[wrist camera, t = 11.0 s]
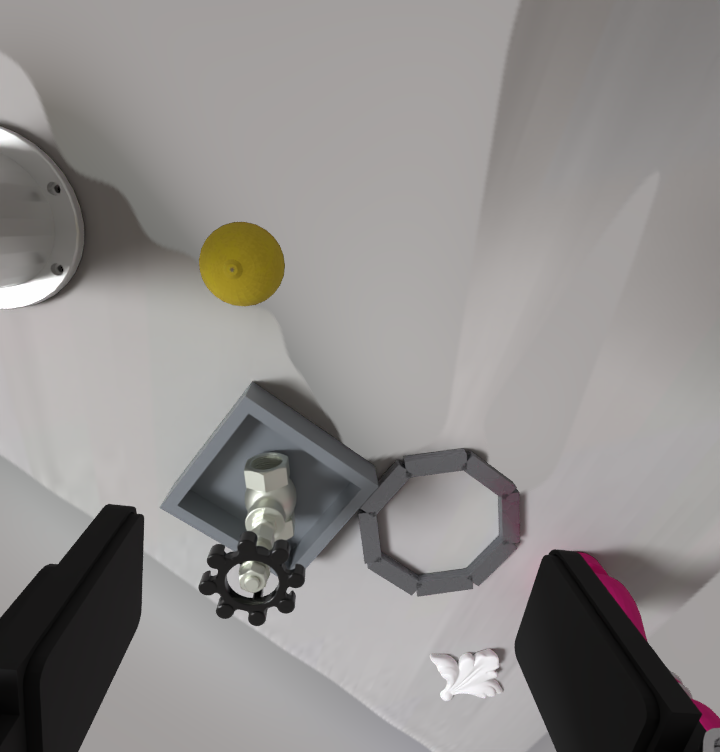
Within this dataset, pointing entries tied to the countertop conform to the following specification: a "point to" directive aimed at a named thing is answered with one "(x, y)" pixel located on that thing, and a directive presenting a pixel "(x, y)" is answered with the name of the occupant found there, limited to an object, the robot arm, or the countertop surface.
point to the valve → (259, 544)
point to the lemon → (241, 264)
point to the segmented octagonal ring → (429, 466)
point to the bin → (307, 472)
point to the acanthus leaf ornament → (469, 674)
